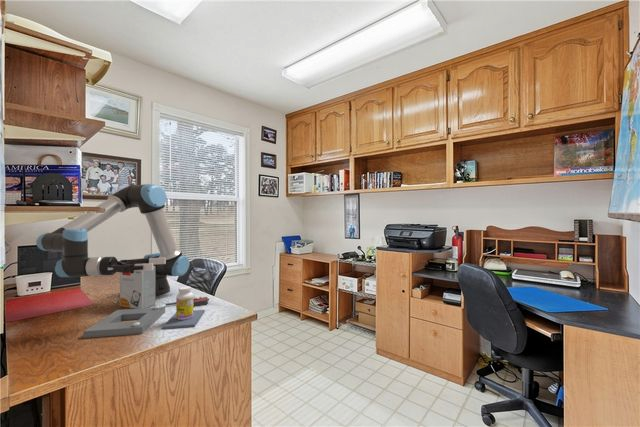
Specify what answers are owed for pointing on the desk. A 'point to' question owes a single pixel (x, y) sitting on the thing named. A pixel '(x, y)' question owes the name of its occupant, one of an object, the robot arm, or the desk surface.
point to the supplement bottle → (184, 303)
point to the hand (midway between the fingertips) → (159, 263)
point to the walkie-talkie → (196, 301)
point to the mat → (184, 321)
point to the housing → (115, 327)
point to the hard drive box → (137, 289)
